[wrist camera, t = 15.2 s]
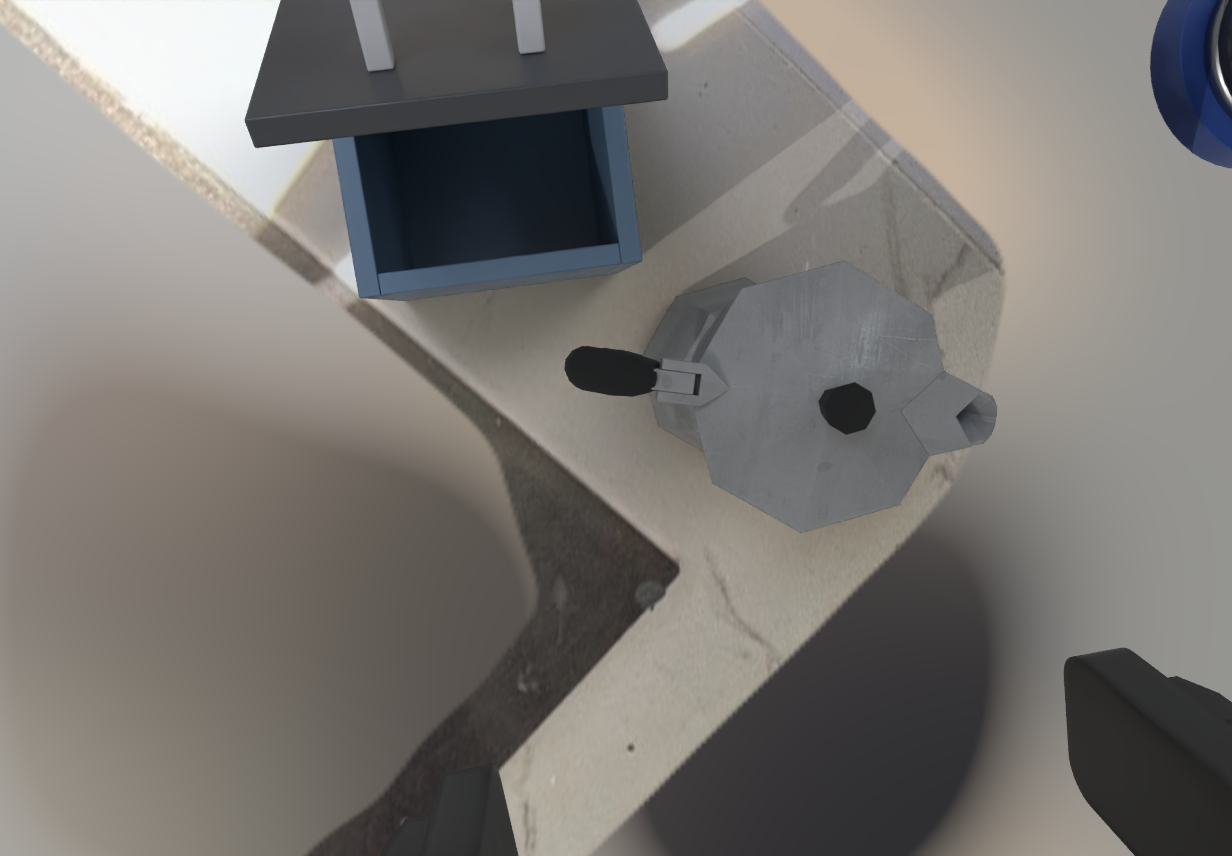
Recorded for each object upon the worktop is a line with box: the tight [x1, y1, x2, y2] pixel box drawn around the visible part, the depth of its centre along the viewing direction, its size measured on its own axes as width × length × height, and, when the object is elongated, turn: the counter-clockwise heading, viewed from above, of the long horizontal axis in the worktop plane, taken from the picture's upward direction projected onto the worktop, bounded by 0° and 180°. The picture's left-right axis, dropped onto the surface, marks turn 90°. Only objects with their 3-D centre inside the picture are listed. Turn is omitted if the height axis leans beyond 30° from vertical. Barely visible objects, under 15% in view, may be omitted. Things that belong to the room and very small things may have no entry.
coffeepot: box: [564, 261, 997, 533], centre depth 36 cm, size 15×9×18 cm, turn 82°
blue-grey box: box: [332, 105, 642, 301], centre depth 38 cm, size 12×11×11 cm
